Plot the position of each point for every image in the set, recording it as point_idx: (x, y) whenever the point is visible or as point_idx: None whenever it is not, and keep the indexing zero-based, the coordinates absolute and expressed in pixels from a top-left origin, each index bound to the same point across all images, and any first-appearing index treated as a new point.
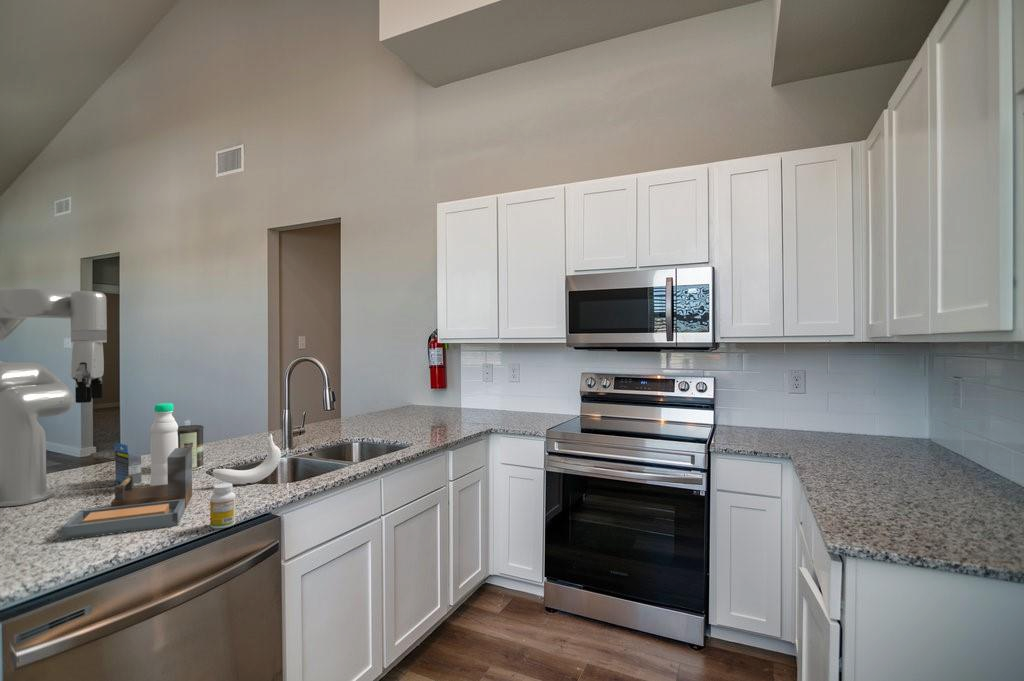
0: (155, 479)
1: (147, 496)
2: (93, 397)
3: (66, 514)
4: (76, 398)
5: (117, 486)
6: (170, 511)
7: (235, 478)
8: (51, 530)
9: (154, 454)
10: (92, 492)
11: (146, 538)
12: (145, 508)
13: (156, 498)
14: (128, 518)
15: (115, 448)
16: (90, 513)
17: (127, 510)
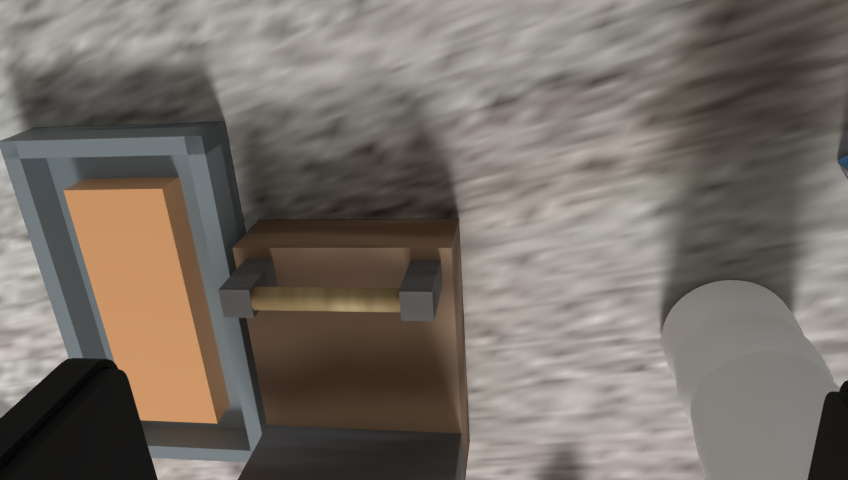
0: (682, 325)
1: (278, 362)
2: (810, 468)
3: (366, 19)
4: (31, 410)
5: (226, 297)
6: (228, 407)
7: None
8: (153, 44)
9: (721, 411)
10: (775, 4)
11: (28, 364)
12: (173, 362)
13: (262, 388)
14: (69, 331)
15: None
16: (151, 191)
17: (163, 310)
